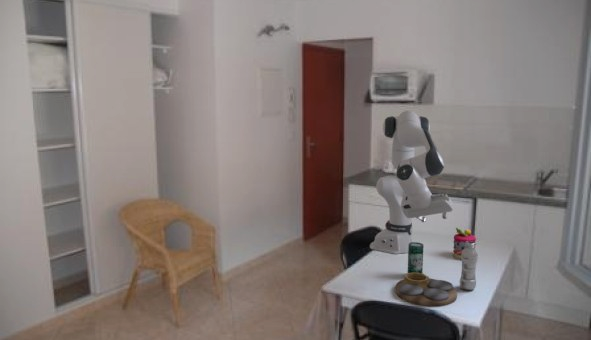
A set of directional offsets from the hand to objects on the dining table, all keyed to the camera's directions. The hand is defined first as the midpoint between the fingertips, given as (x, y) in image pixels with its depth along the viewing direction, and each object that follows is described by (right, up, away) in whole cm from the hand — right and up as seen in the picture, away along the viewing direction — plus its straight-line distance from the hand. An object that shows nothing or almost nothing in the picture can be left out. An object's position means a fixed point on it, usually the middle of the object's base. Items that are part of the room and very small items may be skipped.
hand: (434, 219), depth 198 cm
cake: (+25, -23, +36) cm, 50 cm away
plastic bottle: (+13, -29, -2) cm, 32 cm away
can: (-5, -27, +12) cm, 30 cm away
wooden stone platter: (-6, -30, -6) cm, 31 cm away
